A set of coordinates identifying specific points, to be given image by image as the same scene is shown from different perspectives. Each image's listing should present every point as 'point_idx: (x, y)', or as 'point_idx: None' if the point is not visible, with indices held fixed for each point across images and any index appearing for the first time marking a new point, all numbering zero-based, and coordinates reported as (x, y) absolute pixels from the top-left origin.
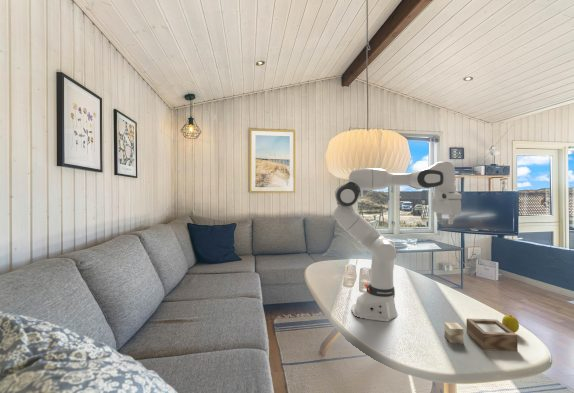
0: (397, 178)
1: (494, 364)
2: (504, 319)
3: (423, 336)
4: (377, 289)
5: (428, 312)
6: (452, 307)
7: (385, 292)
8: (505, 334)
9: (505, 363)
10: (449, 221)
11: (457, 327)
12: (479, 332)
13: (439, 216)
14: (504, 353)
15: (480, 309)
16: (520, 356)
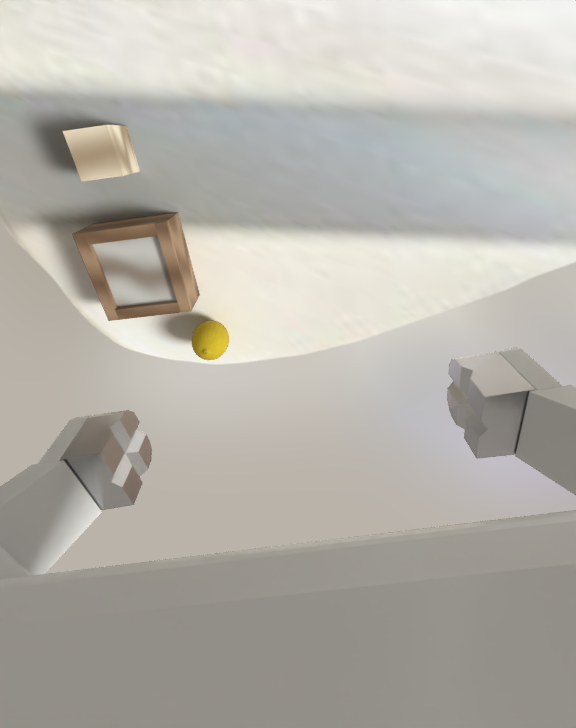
0: None
1: (27, 221)
2: (203, 332)
3: (86, 29)
4: None
5: (301, 116)
6: (357, 231)
7: None
8: (97, 293)
9: (47, 250)
10: (50, 452)
11: (84, 163)
12: (94, 229)
13: (569, 449)
14: None
15: (350, 314)
16: None
